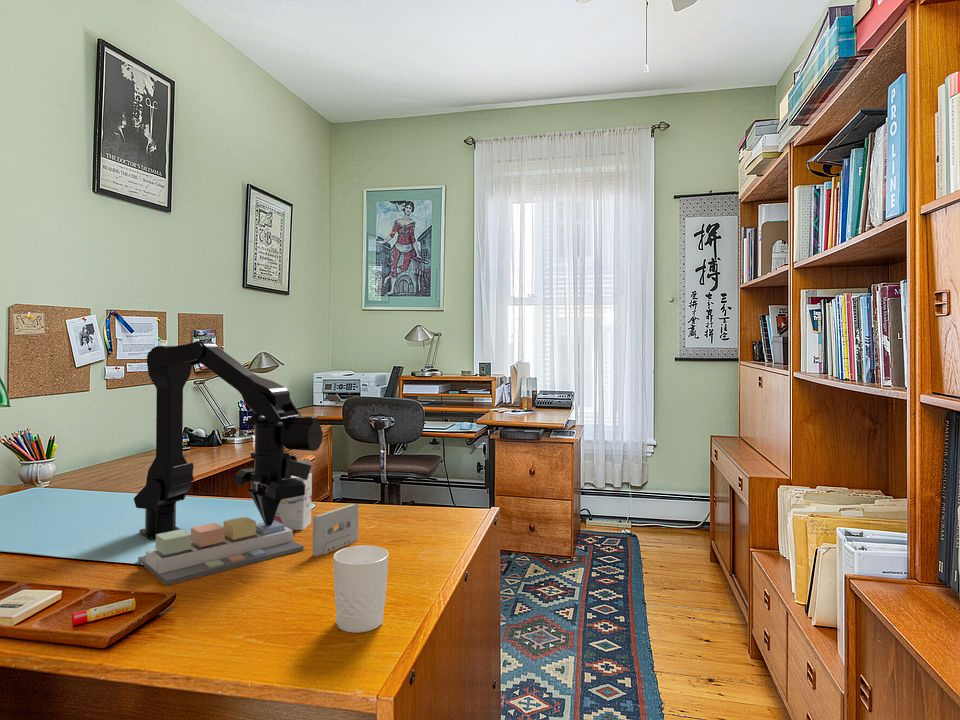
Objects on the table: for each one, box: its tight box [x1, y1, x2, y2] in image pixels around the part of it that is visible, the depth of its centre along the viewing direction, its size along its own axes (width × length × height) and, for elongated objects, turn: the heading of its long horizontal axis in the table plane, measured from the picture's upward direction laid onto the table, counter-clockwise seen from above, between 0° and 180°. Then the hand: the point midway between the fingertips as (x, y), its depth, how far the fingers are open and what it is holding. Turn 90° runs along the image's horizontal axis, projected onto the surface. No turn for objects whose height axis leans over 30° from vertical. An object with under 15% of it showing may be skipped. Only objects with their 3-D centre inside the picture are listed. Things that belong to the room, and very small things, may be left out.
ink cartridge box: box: [274, 459, 313, 531], centre depth 129 cm, size 9×5×15 cm, turn 84°
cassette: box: [311, 503, 359, 557], centre depth 116 cm, size 12×2×8 cm, turn 150°
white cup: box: [332, 545, 389, 634], centre depth 84 cm, size 8×8×10 cm
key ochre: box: [222, 516, 257, 540], centre depth 112 cm, size 4×4×3 cm
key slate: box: [256, 520, 284, 536], centre depth 117 cm, size 4×4×3 cm
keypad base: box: [137, 526, 304, 586], centre depth 110 cm, size 15×25×3 cm, turn 136°
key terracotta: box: [190, 522, 225, 547], centre depth 108 cm, size 4×4×3 cm
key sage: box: [155, 528, 191, 555], centre depth 104 cm, size 4×4×3 cm
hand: (268, 524), depth 117 cm, fingers closed, pressing on key slate
